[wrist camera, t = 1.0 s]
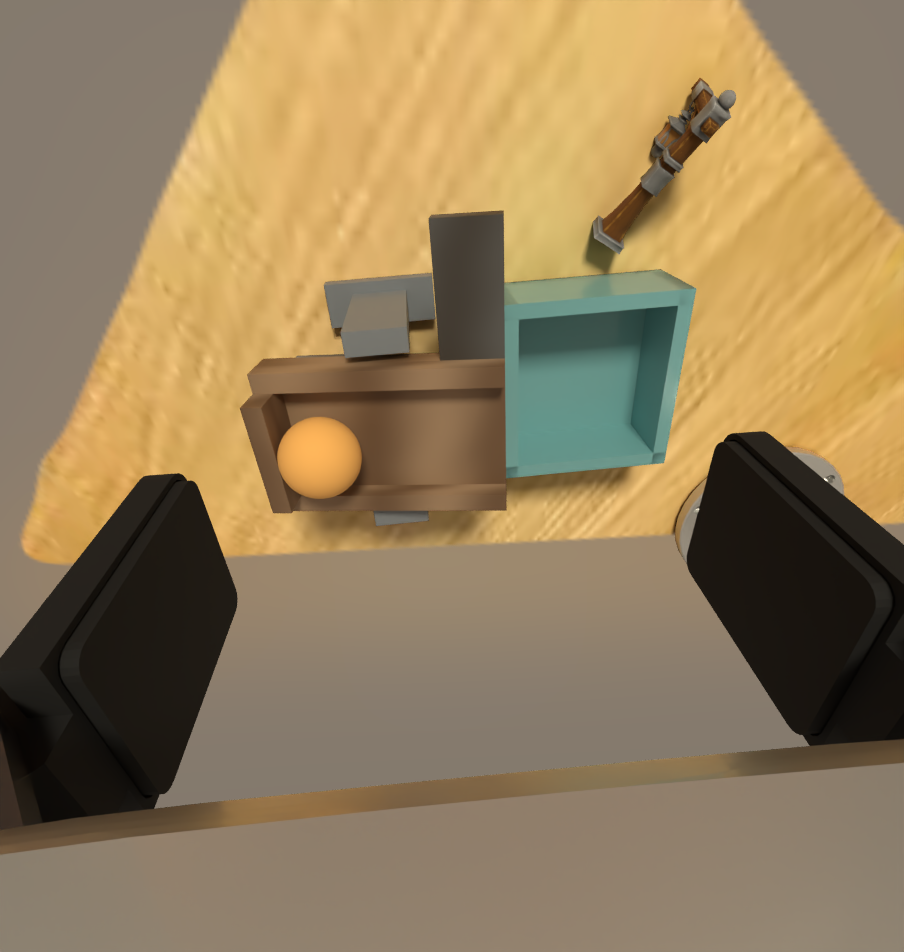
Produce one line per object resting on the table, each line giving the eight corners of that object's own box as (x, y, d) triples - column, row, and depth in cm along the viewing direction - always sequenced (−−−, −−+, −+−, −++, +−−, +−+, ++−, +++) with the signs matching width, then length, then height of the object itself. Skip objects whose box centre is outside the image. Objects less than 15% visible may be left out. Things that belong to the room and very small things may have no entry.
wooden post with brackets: (733, 74, 25) (752, 111, 23) (615, 214, 31) (619, 256, 29) (706, 50, 25) (722, 86, 22) (591, 197, 31) (593, 239, 28)
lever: (503, 201, 24) (503, 223, 19) (506, 460, 32) (506, 528, 26) (254, 217, 25) (187, 242, 20) (314, 462, 33) (277, 528, 28)
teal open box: (660, 269, 31) (696, 288, 27) (637, 429, 37) (664, 462, 33) (491, 284, 30) (503, 305, 27) (494, 442, 36) (505, 478, 33)
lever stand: (431, 272, 30) (438, 310, 24) (446, 458, 37) (455, 526, 30) (325, 281, 30) (304, 322, 23) (360, 466, 37) (351, 536, 30)
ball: (374, 414, 26) (361, 456, 23) (359, 477, 29) (346, 523, 25) (295, 393, 26) (270, 432, 23) (286, 459, 28) (262, 504, 25)
